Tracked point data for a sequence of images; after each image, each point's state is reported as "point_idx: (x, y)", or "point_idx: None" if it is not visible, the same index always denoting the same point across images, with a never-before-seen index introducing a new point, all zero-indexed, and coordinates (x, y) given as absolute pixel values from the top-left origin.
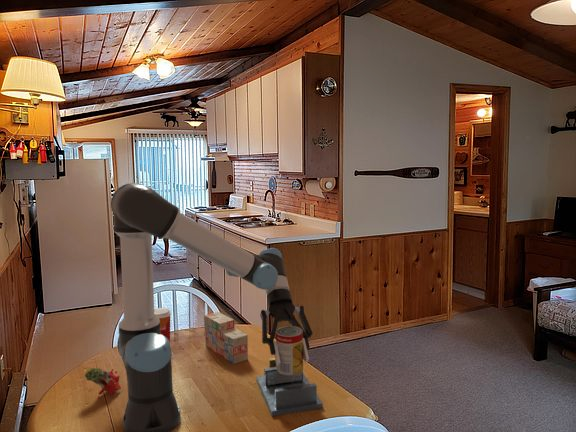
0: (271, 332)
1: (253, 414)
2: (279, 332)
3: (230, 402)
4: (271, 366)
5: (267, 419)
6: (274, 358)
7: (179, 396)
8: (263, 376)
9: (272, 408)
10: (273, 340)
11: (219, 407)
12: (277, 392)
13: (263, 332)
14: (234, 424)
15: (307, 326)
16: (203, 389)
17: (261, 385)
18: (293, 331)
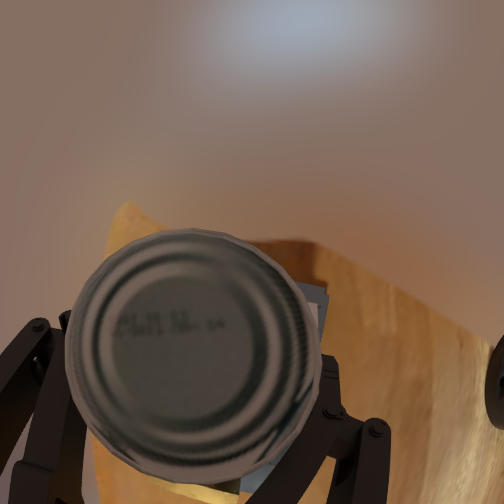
0: (320, 463)
1: (363, 330)
2: (283, 385)
3: (391, 411)
4: (234, 484)
5: (340, 292)
6: (213, 499)
7: (462, 467)
8: (255, 489)
9: (322, 307)
10: (317, 405)
11: (420, 397)
12: (319, 287)
13: (386, 474)
14: (412, 309)
15: (13, 358)
16: (415, 489)
17: (290, 444)
18: (147, 329)
